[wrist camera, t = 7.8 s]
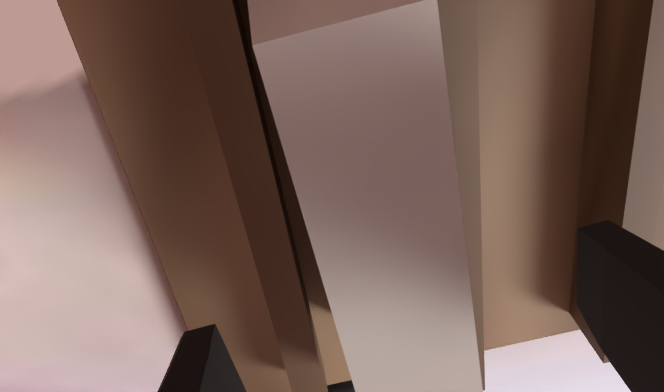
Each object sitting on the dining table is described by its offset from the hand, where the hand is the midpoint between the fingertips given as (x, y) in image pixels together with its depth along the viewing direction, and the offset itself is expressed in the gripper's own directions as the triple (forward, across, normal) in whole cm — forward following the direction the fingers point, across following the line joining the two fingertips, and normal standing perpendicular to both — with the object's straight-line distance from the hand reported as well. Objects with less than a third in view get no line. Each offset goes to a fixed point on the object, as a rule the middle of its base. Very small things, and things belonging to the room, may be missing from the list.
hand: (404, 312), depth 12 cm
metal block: (+6, 0, 0) cm, 6 cm away
